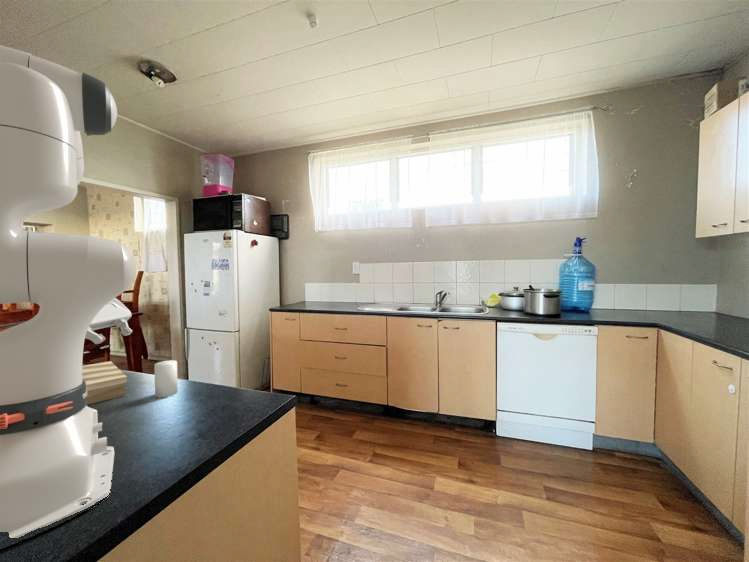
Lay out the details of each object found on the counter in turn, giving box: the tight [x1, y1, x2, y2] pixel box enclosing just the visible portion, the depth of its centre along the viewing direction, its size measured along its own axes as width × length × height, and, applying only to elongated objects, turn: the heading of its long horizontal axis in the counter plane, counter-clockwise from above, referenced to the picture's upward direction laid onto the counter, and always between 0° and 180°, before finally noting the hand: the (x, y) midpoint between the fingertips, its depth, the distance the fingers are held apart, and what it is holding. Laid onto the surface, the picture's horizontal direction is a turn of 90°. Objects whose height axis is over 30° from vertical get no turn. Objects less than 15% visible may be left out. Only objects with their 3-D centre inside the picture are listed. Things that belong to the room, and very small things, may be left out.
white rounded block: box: [154, 359, 179, 399], centre depth 81 cm, size 5×5×8 cm
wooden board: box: [82, 360, 128, 406], centre depth 82 cm, size 22×14×5 cm, turn 50°
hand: (116, 337), depth 80 cm, fingers open, 8 cm apart
